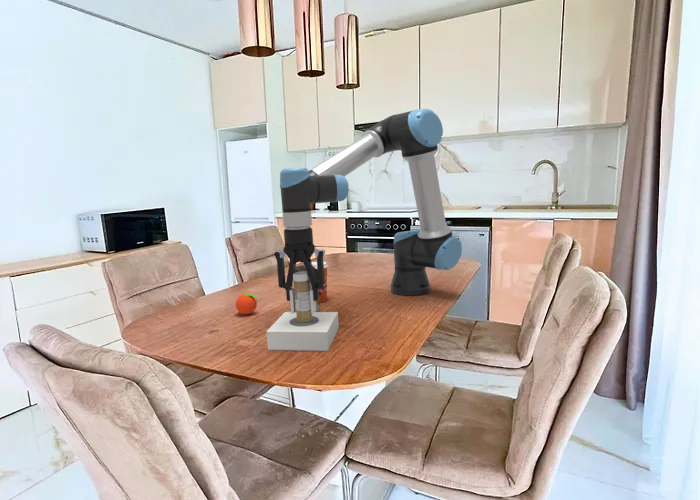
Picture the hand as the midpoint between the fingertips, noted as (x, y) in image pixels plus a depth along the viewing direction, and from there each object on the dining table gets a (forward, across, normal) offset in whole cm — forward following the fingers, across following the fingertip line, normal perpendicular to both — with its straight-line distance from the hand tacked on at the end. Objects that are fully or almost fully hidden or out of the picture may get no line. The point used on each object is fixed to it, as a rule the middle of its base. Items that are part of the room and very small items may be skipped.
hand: (303, 311), depth 112 cm
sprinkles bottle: (+3, 0, 0) cm, 3 cm away
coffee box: (+8, +4, -19) cm, 21 cm away
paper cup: (+8, +4, -36) cm, 37 cm away
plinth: (+8, 0, 0) cm, 8 cm away
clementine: (+8, +25, -21) cm, 34 cm away
